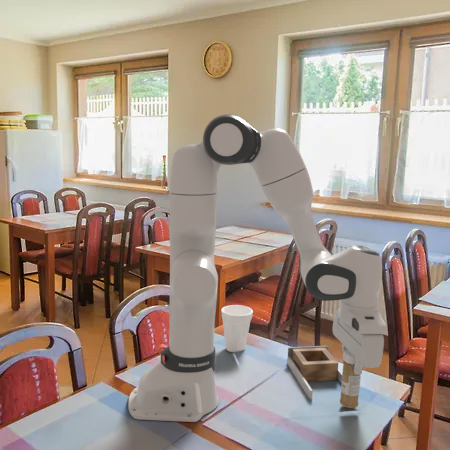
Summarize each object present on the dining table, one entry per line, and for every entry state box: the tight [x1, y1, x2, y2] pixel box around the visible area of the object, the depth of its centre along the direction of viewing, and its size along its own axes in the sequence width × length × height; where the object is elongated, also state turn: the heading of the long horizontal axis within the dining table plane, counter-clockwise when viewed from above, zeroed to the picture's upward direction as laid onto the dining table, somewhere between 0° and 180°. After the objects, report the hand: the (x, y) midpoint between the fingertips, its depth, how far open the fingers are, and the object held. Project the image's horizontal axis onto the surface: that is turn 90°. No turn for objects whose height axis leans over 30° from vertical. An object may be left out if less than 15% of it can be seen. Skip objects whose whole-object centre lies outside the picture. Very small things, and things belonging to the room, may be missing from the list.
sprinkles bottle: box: [339, 350, 362, 409], centre depth 118 cm, size 5×5×13 cm
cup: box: [220, 304, 254, 353], centre depth 152 cm, size 10×10×13 cm
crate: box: [292, 348, 339, 383], centre depth 137 cm, size 10×10×5 cm
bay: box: [286, 345, 343, 401], centre depth 133 cm, size 12×20×6 cm, turn 9°
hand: (351, 367), depth 117 cm, fingers closed on sprinkles bottle, 4 cm apart
